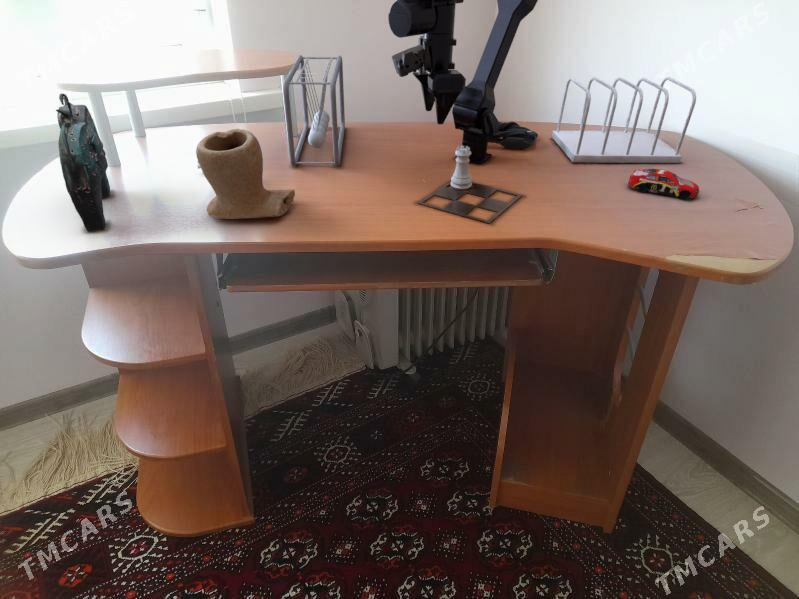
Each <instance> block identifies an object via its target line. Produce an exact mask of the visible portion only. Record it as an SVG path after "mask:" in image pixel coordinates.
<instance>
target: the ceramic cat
mask: <svg viewBox="0 0 799 599" xmlns="http://www.w3.org/2000/svg"><path fill="white" fill-rule="evenodd" d="M58 99H59V101H60V104H61V105H62V106H59V108H57V109H55V112H57V114H56V116H57V123H58V126H59V129H60V130H59V136H58V154H59V155H58V156H59V162H60V168H61V173H62V176H63V177H62V178H63V180H64V185H65V188H66V191H67V193H68V195H69V197H70V200H71V203H72V204H73V206H74V209H75V211H76V212H77V214H78V216H79V217H80V219H81V221H82V224H83V227H84V229H85V230H86V232H89V233H90V232H97V231H105V229H106V226H107V223H106V218H105V212H104V203H103V199H106V198H110V197H111V185H110V181H109V178H108V176H107V170H108V167H109V164H108V159H107V156H106V151H105V149H104V144H103V141H102V139H101V137H100V136H99V133H98V130H97V128H96V125H95V121H94V119H93V117H92V114H91V113H90V110H89V108H88V107H87V105H85V104H73V103H71V102H70V101H69V98H68V96H67V94H66V93H59V96H58Z"/></svg>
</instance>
